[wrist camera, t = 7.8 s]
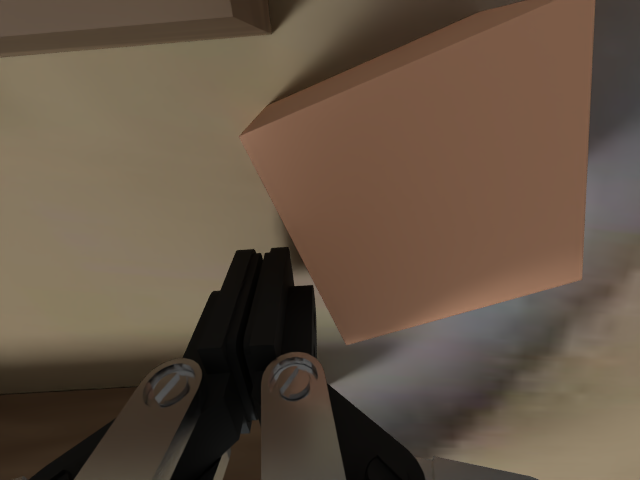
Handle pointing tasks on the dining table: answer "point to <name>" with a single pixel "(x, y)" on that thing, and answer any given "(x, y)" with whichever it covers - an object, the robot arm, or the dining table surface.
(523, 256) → the terracotta block
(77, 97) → the dining table surface
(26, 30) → the walnut cubby
